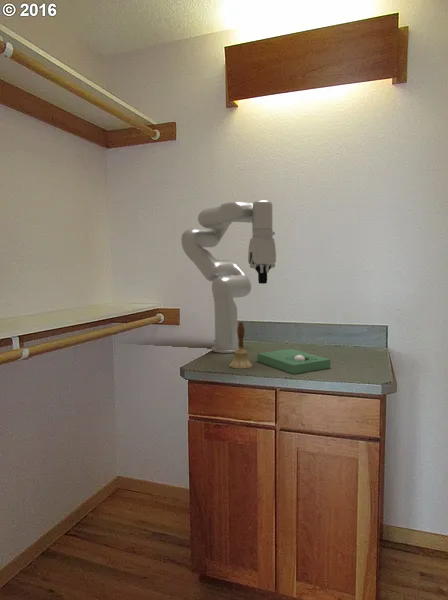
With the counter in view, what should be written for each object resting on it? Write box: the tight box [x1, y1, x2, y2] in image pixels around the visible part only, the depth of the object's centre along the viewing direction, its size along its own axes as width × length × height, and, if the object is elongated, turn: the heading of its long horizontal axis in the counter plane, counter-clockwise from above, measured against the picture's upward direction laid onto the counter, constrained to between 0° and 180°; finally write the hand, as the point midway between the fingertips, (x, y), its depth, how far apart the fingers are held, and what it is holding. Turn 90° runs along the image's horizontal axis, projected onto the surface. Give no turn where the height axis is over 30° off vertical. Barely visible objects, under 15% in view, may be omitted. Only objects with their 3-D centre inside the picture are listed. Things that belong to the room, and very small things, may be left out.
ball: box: [294, 355, 305, 361], centre depth 154 cm, size 4×4×4 cm
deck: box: [256, 348, 331, 375], centre depth 158 cm, size 22×16×3 cm
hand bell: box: [228, 321, 253, 370], centre depth 156 cm, size 8×8×16 cm
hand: (262, 283), depth 165 cm, fingers closed
